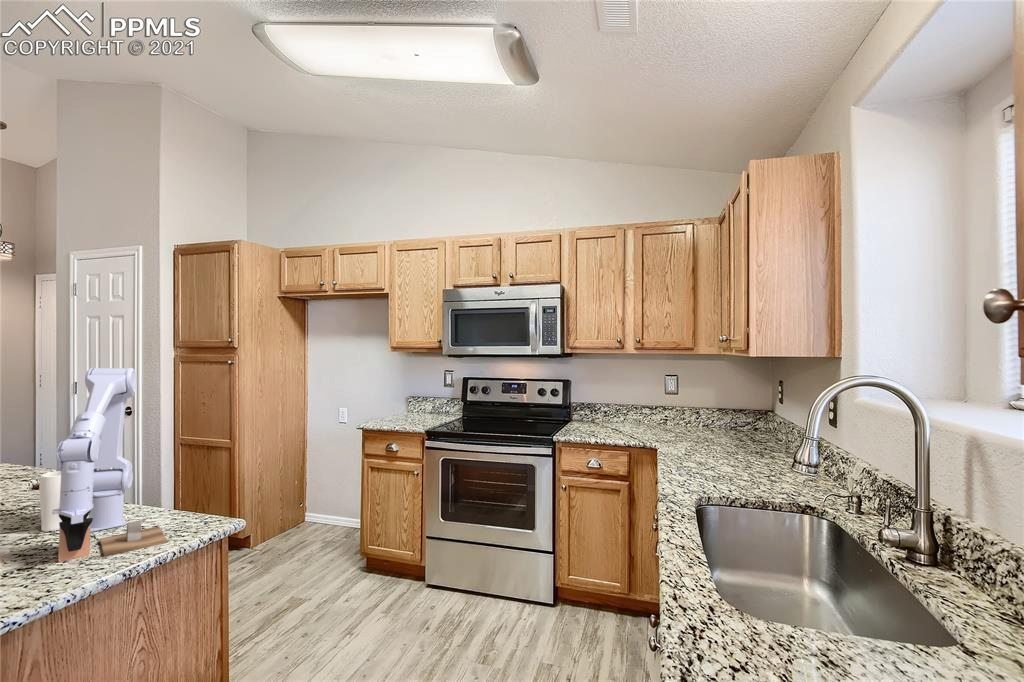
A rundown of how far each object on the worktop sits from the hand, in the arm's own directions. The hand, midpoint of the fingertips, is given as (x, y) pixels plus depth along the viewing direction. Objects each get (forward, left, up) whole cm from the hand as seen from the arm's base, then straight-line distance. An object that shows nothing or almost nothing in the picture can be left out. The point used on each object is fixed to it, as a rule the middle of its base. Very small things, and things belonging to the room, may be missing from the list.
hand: (74, 545), depth 108 cm
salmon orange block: (0, 0, -2) cm, 2 cm away
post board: (0, +11, -2) cm, 11 cm away
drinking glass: (-25, -3, -2) cm, 25 cm away
